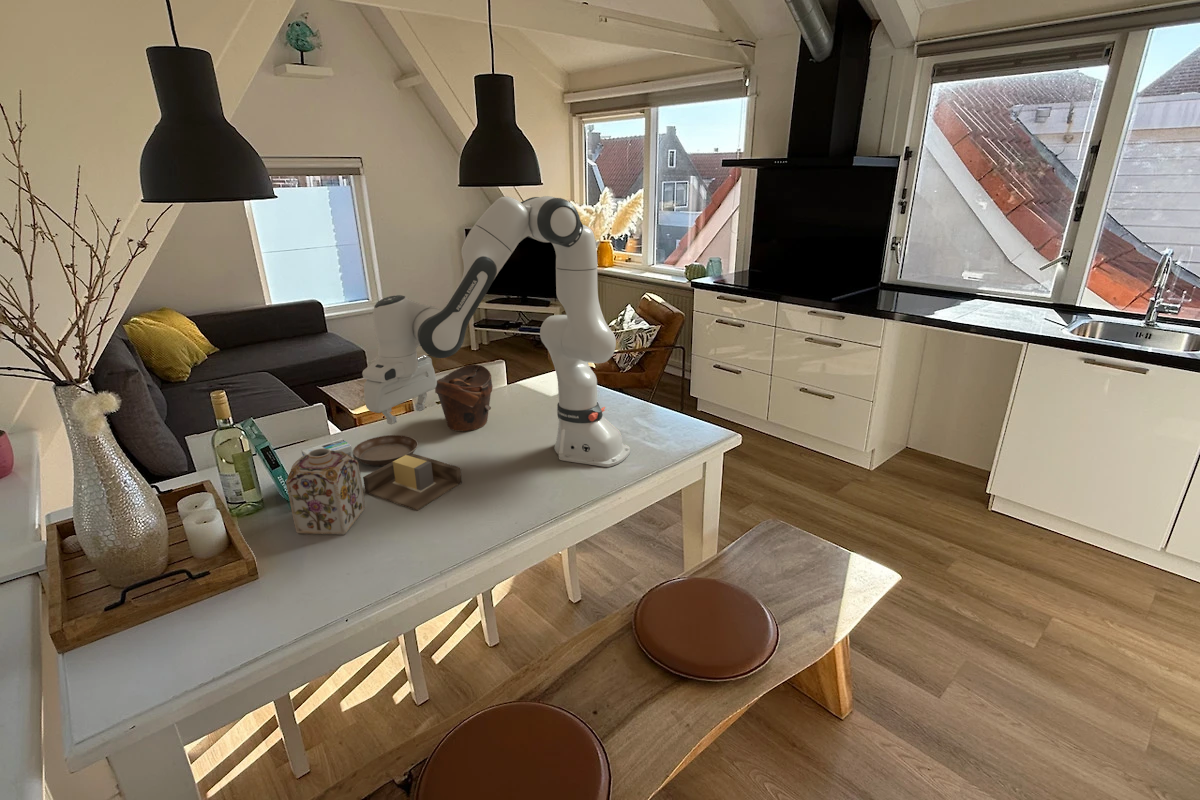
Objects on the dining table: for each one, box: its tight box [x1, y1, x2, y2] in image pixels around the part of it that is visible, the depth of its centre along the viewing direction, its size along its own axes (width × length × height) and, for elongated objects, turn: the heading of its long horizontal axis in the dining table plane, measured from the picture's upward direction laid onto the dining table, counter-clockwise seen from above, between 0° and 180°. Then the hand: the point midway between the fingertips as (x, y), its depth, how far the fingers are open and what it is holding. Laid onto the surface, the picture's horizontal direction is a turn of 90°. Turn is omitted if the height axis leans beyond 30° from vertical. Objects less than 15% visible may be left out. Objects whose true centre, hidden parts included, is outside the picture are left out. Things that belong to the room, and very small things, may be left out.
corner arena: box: [362, 453, 463, 511], centre depth 155 cm, size 18×16×4 cm
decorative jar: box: [285, 448, 366, 536], centre depth 138 cm, size 12×12×18 cm
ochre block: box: [393, 455, 434, 491], centre depth 156 cm, size 4×9×6 cm, turn 61°
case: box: [434, 364, 493, 432], centre depth 192 cm, size 18×20×18 cm
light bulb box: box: [301, 438, 354, 458], centre depth 156 cm, size 11×7×11 cm, turn 135°
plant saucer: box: [352, 434, 419, 467], centre depth 173 cm, size 18×18×3 cm
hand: (406, 416), depth 150 cm, fingers open, 8 cm apart
